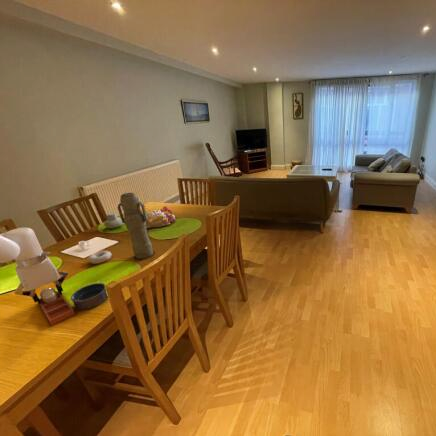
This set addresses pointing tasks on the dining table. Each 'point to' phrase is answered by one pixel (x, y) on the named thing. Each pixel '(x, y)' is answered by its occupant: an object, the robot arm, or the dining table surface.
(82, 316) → the dining table surface
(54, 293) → the egg
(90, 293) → the bowl
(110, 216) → the air freshener
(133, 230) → the grey tall piece
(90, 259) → the donut
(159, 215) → the candy landscape model
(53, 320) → the brown compartment tray
